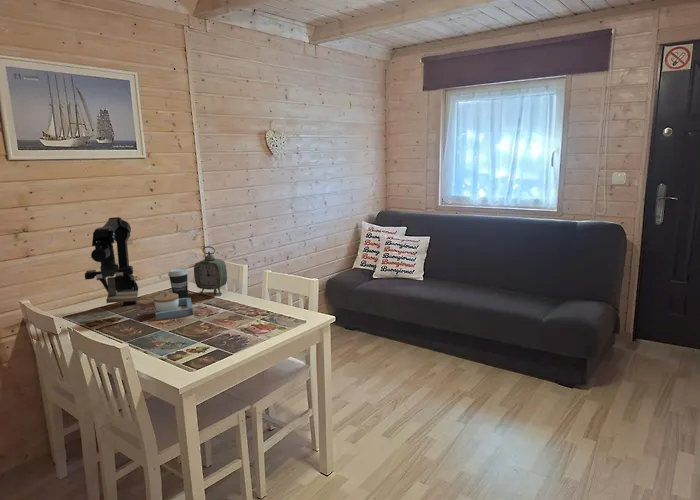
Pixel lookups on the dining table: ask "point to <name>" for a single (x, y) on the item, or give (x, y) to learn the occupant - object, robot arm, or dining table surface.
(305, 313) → the dining table surface
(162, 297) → the lidded jar
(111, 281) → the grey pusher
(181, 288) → the coffee cup
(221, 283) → the tabletop clock
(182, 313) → the slate frame
